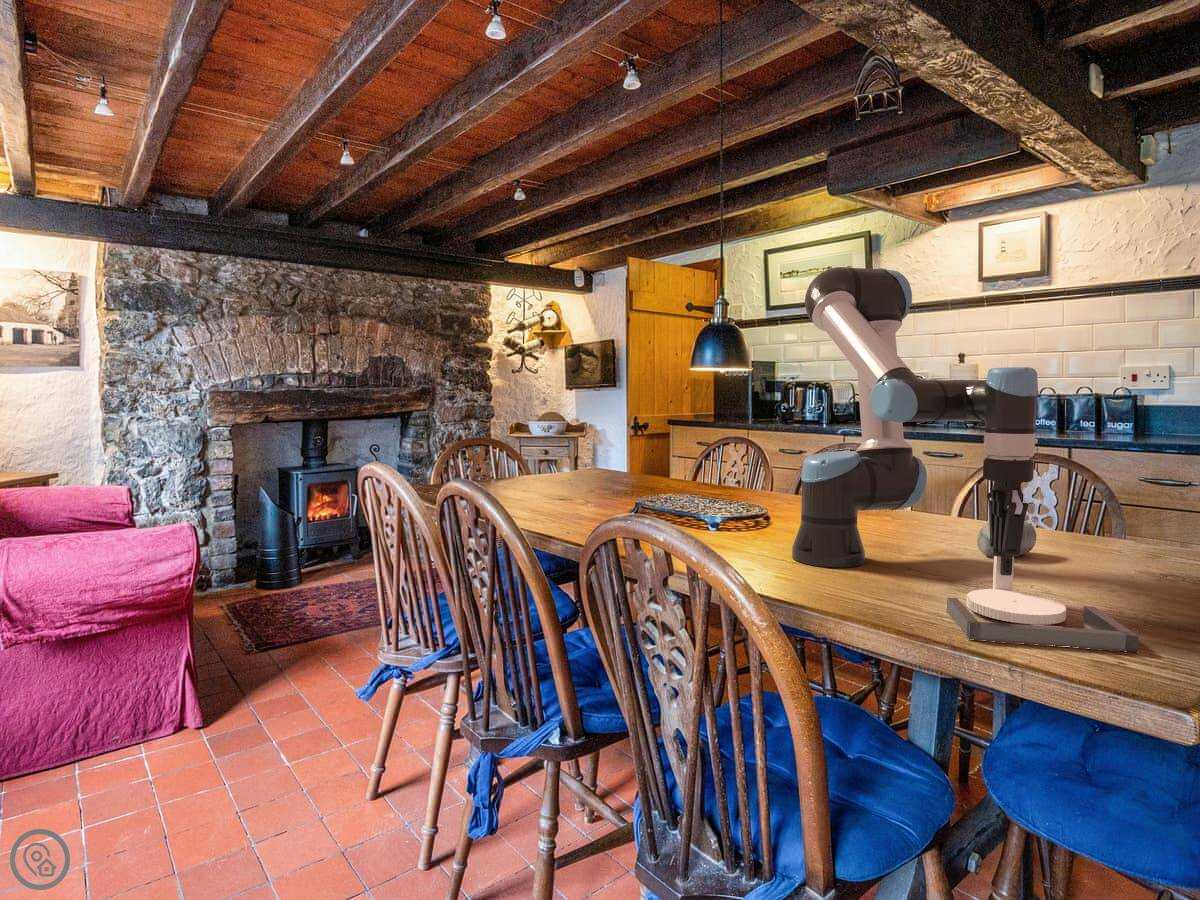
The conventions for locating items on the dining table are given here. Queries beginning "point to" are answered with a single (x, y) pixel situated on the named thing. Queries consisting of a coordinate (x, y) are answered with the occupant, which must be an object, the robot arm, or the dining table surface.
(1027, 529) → the grey yarn skein
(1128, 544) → the dining table surface
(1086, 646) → the bracket
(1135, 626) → the dining table surface
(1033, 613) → the plastic lid
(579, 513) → the dining table surface
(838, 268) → the robot arm
